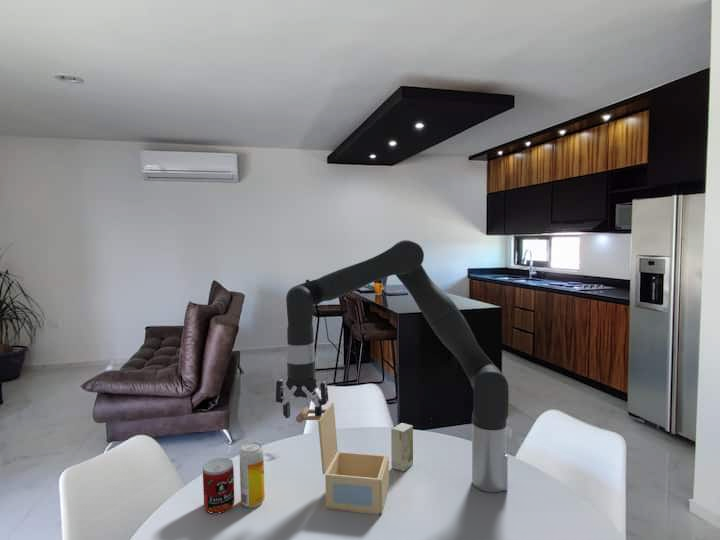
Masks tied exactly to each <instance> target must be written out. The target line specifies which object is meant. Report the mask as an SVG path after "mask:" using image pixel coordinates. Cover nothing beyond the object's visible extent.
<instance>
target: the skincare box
mask: <svg viewBox="0 0 720 540" xmlns="http://www.w3.org/2000/svg"><path fill="white" fill-rule="evenodd" d="M390 431H391V433H390V434H391V436H390V437H391V438H390V439H391V440H390V442H391V445H390V446H391V453H390V454H391V458H390V459H391V463H390V464H391V469H394V470H397V471H400V472H404V471H406V470H407V469H409V468H410V467H412V466H413V465H414V426H413V425H412V424H408V423H404V422H401V423H399V424H397V425H395V426H394V427H392V428H391V430H390Z"/></svg>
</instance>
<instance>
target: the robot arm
mask: <svg viewBox="0 0 720 540" xmlns="http://www.w3.org/2000/svg"><path fill="white" fill-rule="evenodd" d="M424 254H425V253H424V250H423V247H422V246H421V245H420V244H419V243H417V242H416V241H415V240H410V239H405V240H400V241H398V242H397V243H395V244H394V245H393V246H391V247H390V248H389V249H387V250H385V251H383V252H382V253H380V254H377V255H375V256H373V257H371V258H368V259H366V260H363V261H360V262H358V263H354V264H352V265H349V266H346V267H344V268H340V269H337V270H335V271H333V272H329V273H328V274H325V275H323V276H321V277H319V278H317V279H312V280H310V281H306V282H302V283H300V284H297V285H294V286H293V287H291V288H290V289H289V290H288V291H287V293H286V297H285V298H286V299H285V301H286V314H287V329H286V331H287V332H286V333H287V334H286V336H287V341H286V342H287V347H286V366H287V367H286V371H287V375H286V376H287V380H286V379H284V378H279V379H278V380H277V381H276V383H275V384H276V385H275V402H276V403H280V404H282V415H283V417H284V418H285V419H289V418H290V417H291V402H290V400H291V399H292V398H293V397H295V398H300V397H301V398H308V400H310V401H311V402H312V403H313V405H314V409H315V413H314V416H322V415H323V413H322V407H323V405H324V406H325V405H327V403H328V402H329V391H328V382H327V380H326V379H325V380H322V381H317V379H316V357H315V356H316V355H315V354H316V353H315V345H314V340H315V339H314V326H313V321H314V320H313V319H314V306H316V305H317V304H320V303H322V302H329V301H333V300H336V299H338V298H341V297H344V296H346V295H349V294H351V293H353V292H355V291H358V290H359V289H361V288H363V287H366V286H368V285H369V284H372V283H375V282H376V281H379V280H382V279H384V278H387V277H391V276H394V275H395V276H396V278H397V279H398V280H399V281H400V283H401V284H402V285H403V286H404V287H405V289H406V290H407V291H408V292H409V293H410V295H411V298H413V300H414V302H415V305H417V307H418V309H419V311H420V312H421V313H422V315H423V317H424V319H425V320H426V322H427V323H428V324H429V326H430V328H431V329H432V330H433V332H434V333H435V335H436V336H437V337H438V339H439V340H440V342H441V343H442V344H443V345H444V346H445V347H446V349H448V351H450V352H451V353H452V355H453V356H454V357H455V358H456V359H457V360H458V362H459V364H460V366H461V367H462V369H463V371H464V373H465V374H466V377H467V378H468V380H469V382H470V385H471V388H472V390H473V410H472V412H471V413H472V415H471V439H472V440H471V445H472V446H471V461H472V462H471V464H472V465H471V467H472V468H471V477H472V478H471V482H472V485H473V486H474V487H476V488H477V489H478V490H481V491H482V492H483V491H484V492H486V493H500V492H503V491H506V492H508V485H509V484H508V482H509V481H508V474H509V473H508V471H509V470H508V469H509V468H508V467H509V466H508V465H509V464H508V459H509V458H508V453H507V420H508V417H509V399H510V397H509V395H510V391H509V383H508V379H507V378H506V376H505V375H504V374H503V372H502V371H501V370H500V369H499V367H497V366H496V365H495V364H494V362H493V360H491V359H490V358H489V356H487V354H486V353H485V352H484V350H483V349H482V348H481V346H480V345H479V344H478V343H479V342H477V339H476V337H475V335H474V333H473V331H472V329H471V327H470V325H469V323H468V322H467V321H468V320H467V319H466V318H465V317H464V315H463V313H462V312H461V310H460V309H459V308H458V306H457V305H456V303H455V302H454V301H453V300H452V298H450V296H449V295H447V293H446V292H444V291H443V290H442V289H441V288H440V287H439V286H438V285H437V284H436V283H435V281H434V282H433V280H432V279H431V278H430V276H429V275H428V274H427V271H426V269H424V268H425V267H423V265H422V264H423V262H424V259H425V255H424ZM285 387H287V388H288V390H289V391H288V393H287V394H286V395H285V396H284V388H285ZM316 388H318V390H319V391H320V396H319V393H318V392H317V390H316Z"/></svg>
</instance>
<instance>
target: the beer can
mask: <svg viewBox="0 0 720 540" xmlns="http://www.w3.org/2000/svg"><path fill="white" fill-rule="evenodd" d="M264 461H265V460H264V448H263V446H262V444H261V443H259V442H247V443H245V444H242V446H241V447H240V450H239V478H240V479H239V480H240V484H239V485H240V503H241V504H242V505H243V507H244V508H248V507H249V509H252V508H253V509H254V508H256V507H259V506H261V504H262V503H263V501H264V500H265V469H264V468H265V466H264Z"/></svg>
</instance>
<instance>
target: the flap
mask: <svg viewBox="0 0 720 540" xmlns="http://www.w3.org/2000/svg"><path fill="white" fill-rule="evenodd" d="M310 414H315V408H314V409H310V408H309V407H308V406H305V407H304V408H303V409H302V410H301V411H300V412H299V413H298V415H297V416H295V420H296V422H297V423H300V424H301V423H302V422H304V421H317V424H318V435H319V447H320V448H319V449H320V458H321V471H322V475H326V473H327V471H328V469H329V467H330V465H331V464H332V462H333V460H334V458H335V456H336V455H337V453H338V452H339V451H338V449H339V448H338V439H337V427H336V416H335V415H336V413H335V403H333V402H331V403H330V405H329V406H328V407H327V408H326V409H322V415H321V416H315V415H310Z"/></svg>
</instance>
